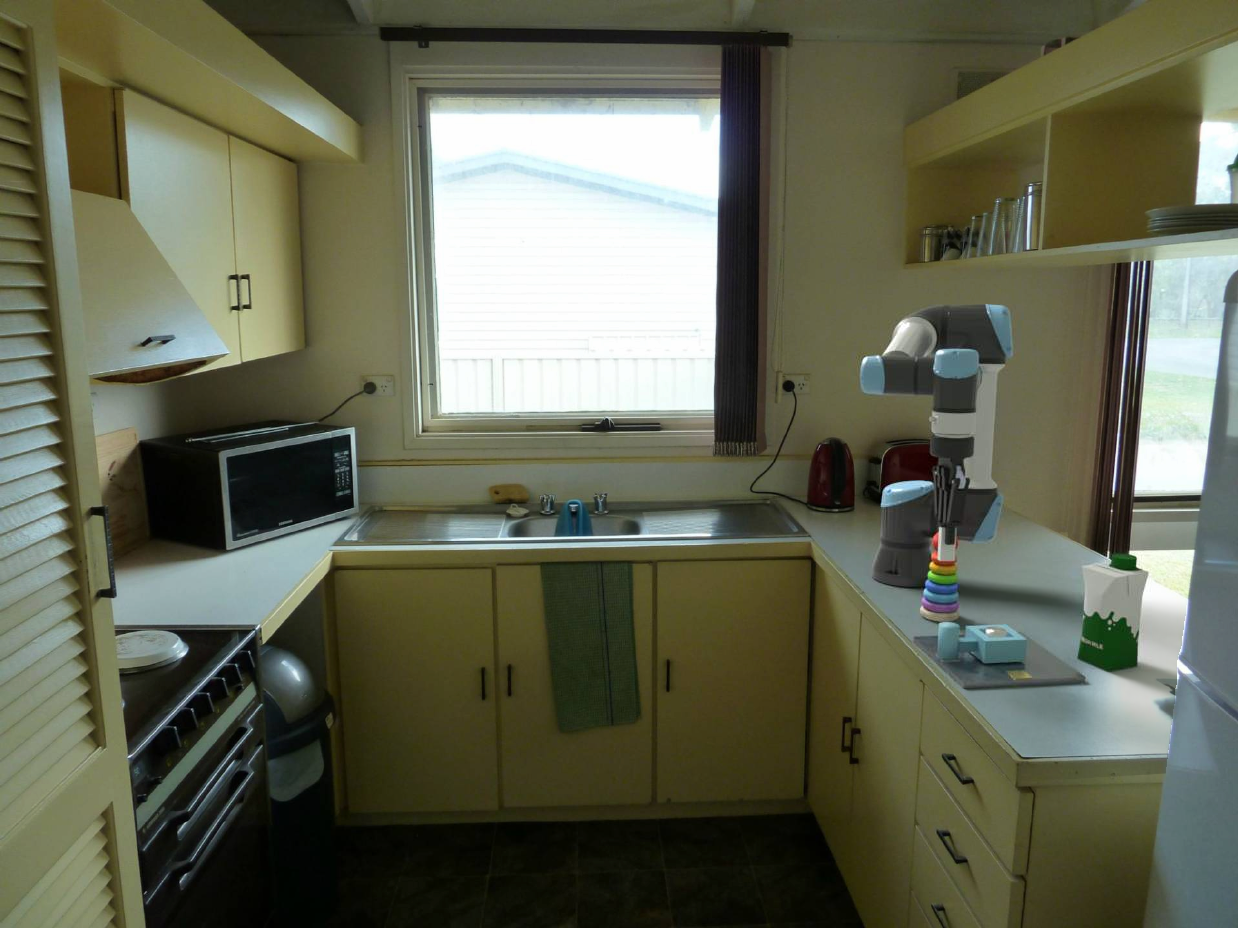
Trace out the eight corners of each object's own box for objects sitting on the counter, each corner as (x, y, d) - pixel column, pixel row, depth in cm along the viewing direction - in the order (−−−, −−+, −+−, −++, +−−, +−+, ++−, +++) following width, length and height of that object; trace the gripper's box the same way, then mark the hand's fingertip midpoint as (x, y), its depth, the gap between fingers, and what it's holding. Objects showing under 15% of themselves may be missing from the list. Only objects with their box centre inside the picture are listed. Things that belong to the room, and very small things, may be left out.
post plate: (913, 641, 180) (914, 612, 179) (1020, 636, 182) (1022, 607, 181) (963, 688, 158) (965, 655, 157) (1085, 682, 160) (1087, 649, 159)
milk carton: (1145, 667, 166) (1155, 561, 163) (1108, 674, 163) (1117, 566, 160) (1105, 650, 174) (1113, 548, 171) (1068, 657, 171) (1076, 554, 168)
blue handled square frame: (929, 648, 173) (930, 618, 172) (1004, 645, 174) (1006, 615, 173) (947, 664, 165) (948, 633, 164) (1025, 661, 166) (1027, 629, 165)
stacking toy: (921, 621, 191) (925, 534, 187) (918, 609, 198) (922, 525, 195) (961, 624, 189) (966, 536, 186) (956, 611, 197) (961, 527, 193)
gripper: (920, 429, 173) (914, 550, 177) (944, 440, 160) (937, 570, 164) (960, 429, 173) (953, 550, 177) (987, 439, 160) (979, 569, 164)
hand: (946, 559), depth 170 cm, fingers closed
